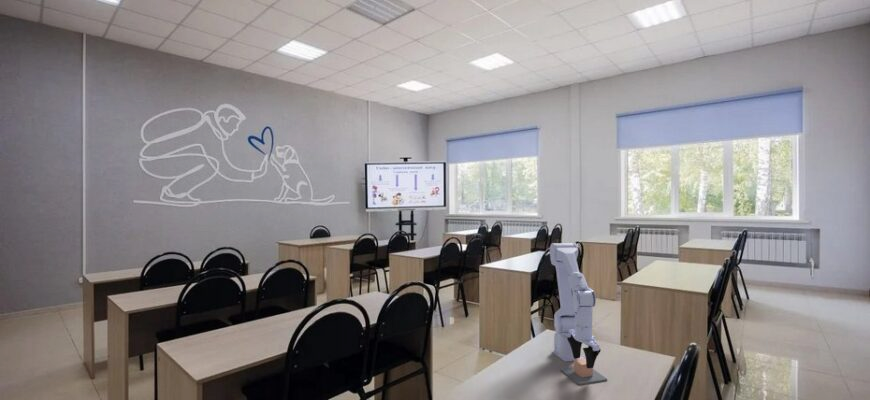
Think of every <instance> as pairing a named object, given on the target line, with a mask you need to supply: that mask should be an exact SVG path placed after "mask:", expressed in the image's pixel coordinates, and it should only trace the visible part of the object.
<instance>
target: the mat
mask: <svg viewBox="0 0 870 400" xmlns="http://www.w3.org/2000/svg"><path fill="white" fill-rule="evenodd" d="M560 371H561V372H562V373H563V374H564V375H566V376H567V377H568V378H570V379H571V380H572V381H573V382H574V383H576V384H577V385H578V386H584V385H588V384H596V383H600V382H607V381H608V378H607V377H605V376H604V375H602V374H601V373H600V372H598V371H597V370H595V369H594V368H593V376H588V377H581V376H579V375H578V374H577V373H575V372H574V366H570V367H569V366H568V367H563V368H560Z"/></svg>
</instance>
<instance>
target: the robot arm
mask: <svg viewBox="0 0 870 400" xmlns="http://www.w3.org/2000/svg"><path fill="white" fill-rule="evenodd" d="M549 256H550V257H549V259H550V263H551V265H552V266H554V267H555V271H556V278H557V289H558V295H559V296H558V297H559V303H560V304H559V305H560V308H558V310H557V311H555V312H554V315H553V316H554V317H553V319H554V321H553V326H554V330H555V333H554V336H553V344H554V346H553V350H552V351H551V352H552V353H553V354H554V355H556V356H557V357H558V358H559V359H561V360H562V361H564V362H572V361H573V362H574V359H581V358H586V366H587V368H593V369H594V366H595V363H596V360H597V357H598V356H599V354H600V353H601V351H602V350H601V348H600V344H599V343H598V342H597V341H596V340H595V335H593V307H596V295H595V291H594V290H593V289H592V288H591V287H589V285H588V283H587V280H586V277H585V275H584V273H582V272H580V269H579V265H578V261H577V259H578V256H579V247H578V244H577V243H576V242H571V243H570V242H565V243H562V242H561V243H560V242H559V243H558V242H557V243H555V242H552V243H551V244H550V247H549ZM583 344H585V345H586V346H587V347H583V348H582V345H583ZM581 350H583V352H584V355H585V357H583V356H581Z"/></svg>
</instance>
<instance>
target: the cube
mask: <svg viewBox="0 0 870 400" xmlns="http://www.w3.org/2000/svg"><path fill="white" fill-rule="evenodd" d="M573 367H574V372H575V373H577V374H578V375H579V376H581V377H588V376H593V369H594V367H593V368H587V366H586V357H583V358H581V359H574V361H573Z"/></svg>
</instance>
